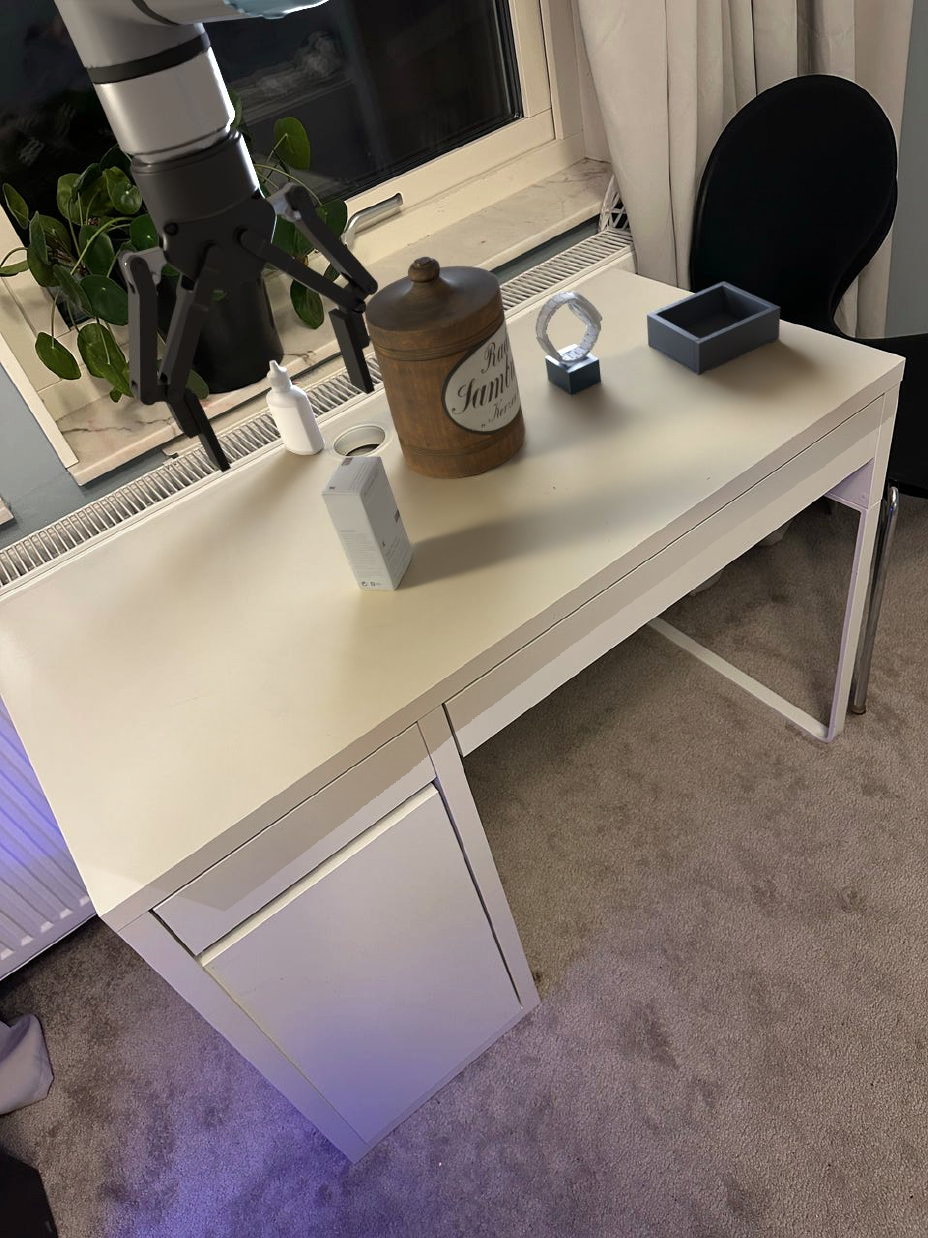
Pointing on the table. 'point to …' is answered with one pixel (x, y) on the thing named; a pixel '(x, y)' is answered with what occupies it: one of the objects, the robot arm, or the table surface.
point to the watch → (575, 362)
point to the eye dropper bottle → (292, 413)
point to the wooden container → (447, 368)
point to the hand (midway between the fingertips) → (294, 425)
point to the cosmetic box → (368, 523)
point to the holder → (713, 327)
